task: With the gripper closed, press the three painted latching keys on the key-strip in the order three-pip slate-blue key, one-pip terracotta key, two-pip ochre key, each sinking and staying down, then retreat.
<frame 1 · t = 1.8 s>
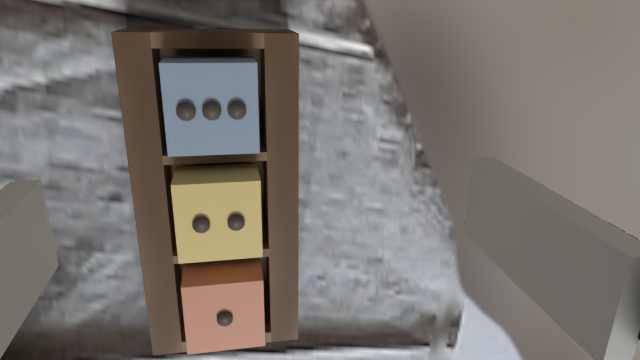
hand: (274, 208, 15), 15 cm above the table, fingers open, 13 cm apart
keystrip: (219, 185, 30), on the table
tile one: (224, 303, 28), point 4 cm above the table, slide at 0.0 cm
tile three: (212, 104, 24), point 4 cm above the table, slide at 0.0 cm
tile two: (219, 212, 26), point 4 cm above the table, slide at 0.0 cm
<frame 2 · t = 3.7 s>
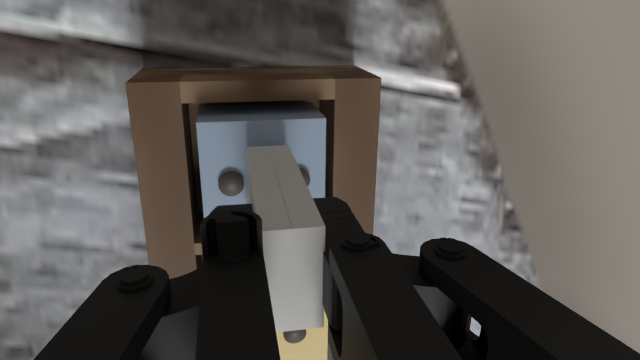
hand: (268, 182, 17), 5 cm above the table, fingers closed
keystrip: (260, 261, 24), on the table
tile three: (261, 168, 18), point 3 cm above the table, slide at 0.9 cm, touching gripper
tile two: (268, 312, 20), point 4 cm above the table, slide at 0.0 cm
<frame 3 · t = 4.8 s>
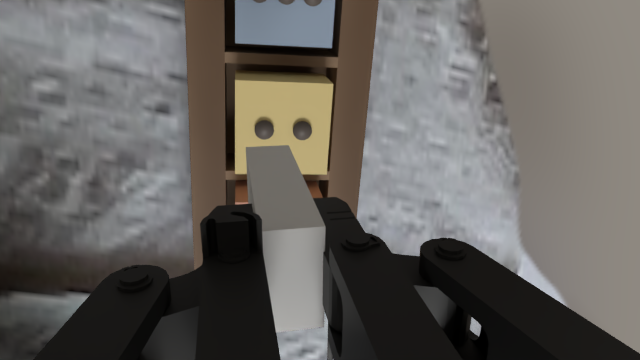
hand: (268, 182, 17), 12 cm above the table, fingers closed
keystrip: (275, 104, 28), on the table
tile one: (277, 229, 26), point 4 cm above the table, slide at 0.0 cm
tile two: (280, 122, 24), point 4 cm above the table, slide at 0.0 cm
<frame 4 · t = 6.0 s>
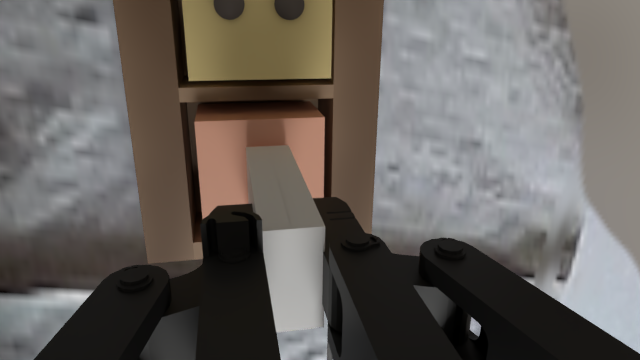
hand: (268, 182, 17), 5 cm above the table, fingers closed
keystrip: (249, 3, 19), on the table
tile one: (260, 167, 18), point 3 cm above the table, slide at 0.9 cm, touching gripper
tile two: (256, 3, 16), point 4 cm above the table, slide at 0.0 cm
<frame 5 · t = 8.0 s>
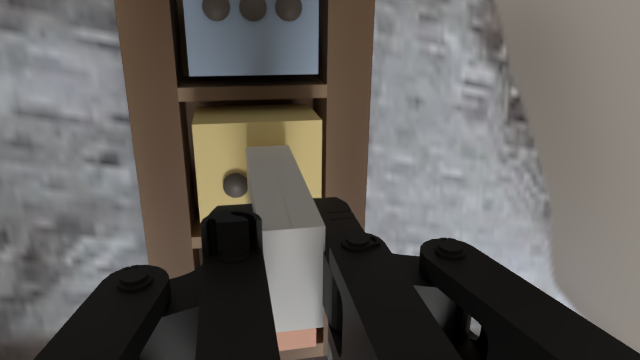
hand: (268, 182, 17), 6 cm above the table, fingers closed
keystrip: (251, 143, 22), on the table
tile one: (261, 290, 21), point 3 cm above the table, slide at 1.0 cm
tile three: (250, 6, 17), point 3 cm above the table, slide at 1.0 cm
tile two: (257, 170, 18), point 4 cm above the table, slide at 0.2 cm, touching gripper
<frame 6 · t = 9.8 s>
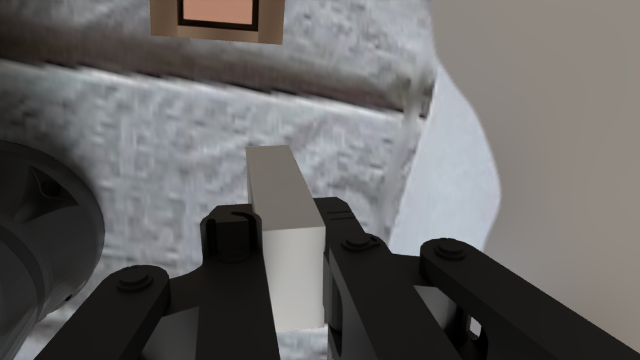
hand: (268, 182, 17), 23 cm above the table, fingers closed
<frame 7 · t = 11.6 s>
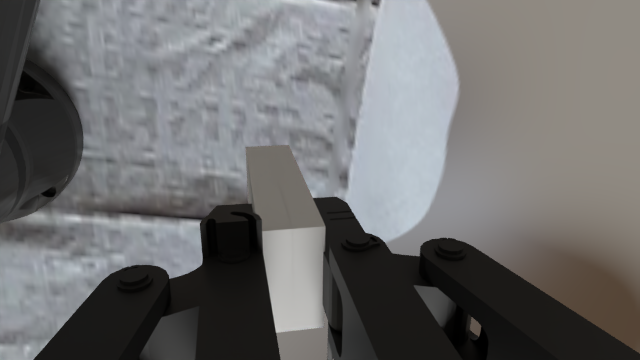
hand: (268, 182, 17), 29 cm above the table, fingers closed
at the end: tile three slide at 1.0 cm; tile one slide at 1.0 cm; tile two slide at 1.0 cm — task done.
